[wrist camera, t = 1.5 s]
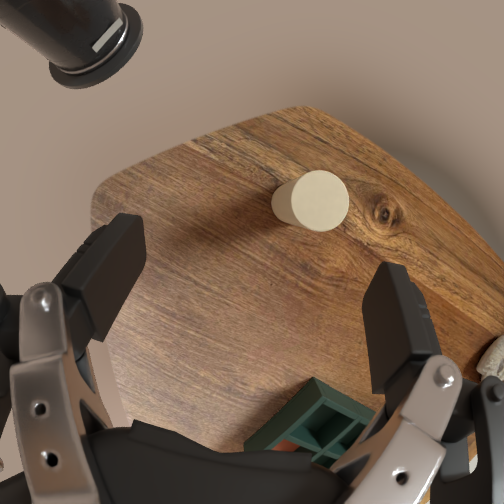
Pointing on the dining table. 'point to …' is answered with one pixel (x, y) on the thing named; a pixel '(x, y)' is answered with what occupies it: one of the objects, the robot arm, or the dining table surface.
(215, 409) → the dining table surface
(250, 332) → the dining table surface
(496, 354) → the fossil
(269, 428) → the grid
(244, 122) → the dining table surface
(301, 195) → the cylinder
